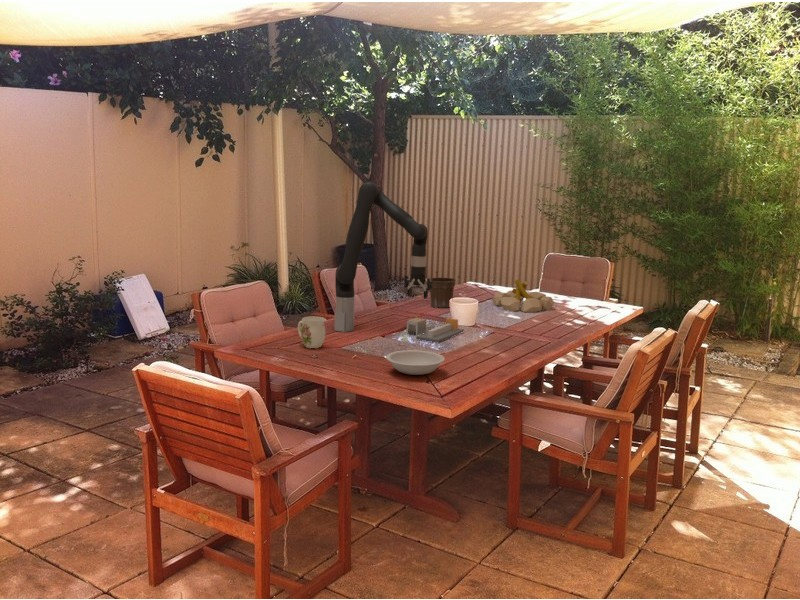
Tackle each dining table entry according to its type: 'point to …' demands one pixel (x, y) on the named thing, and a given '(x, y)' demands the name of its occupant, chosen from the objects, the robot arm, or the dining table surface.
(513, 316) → the dining table surface
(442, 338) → the coupler stand
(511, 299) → the campfire
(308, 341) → the pitcher
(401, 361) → the soup bowl
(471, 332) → the dining table surface
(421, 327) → the lock block
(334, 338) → the dining table surface
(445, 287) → the plant pot
